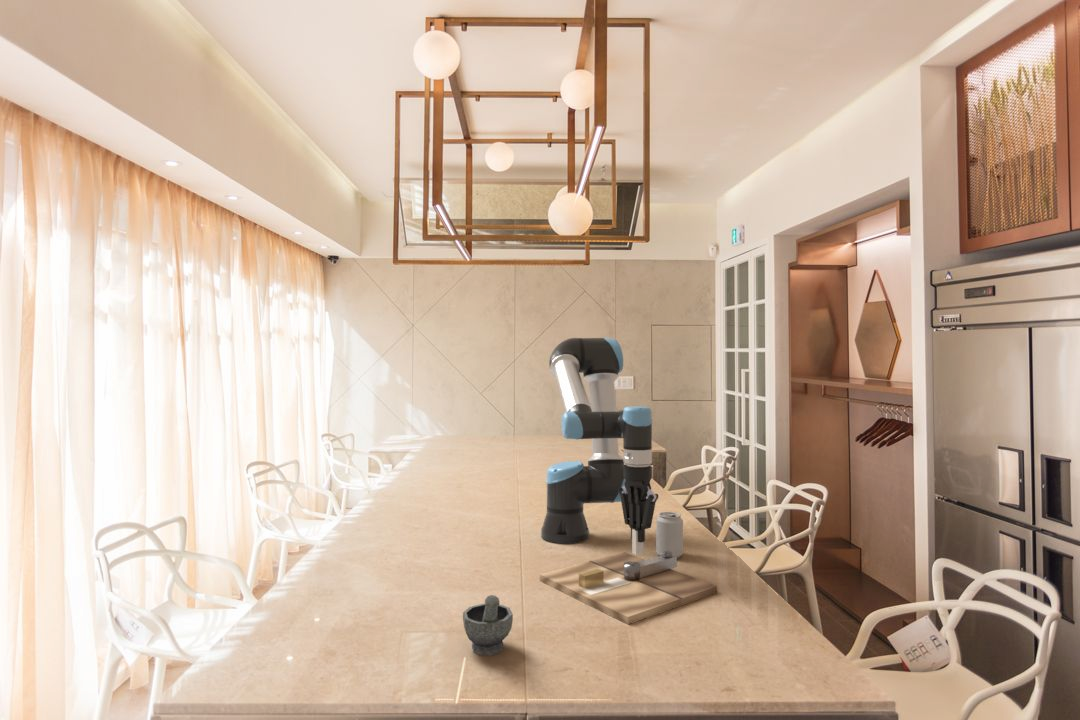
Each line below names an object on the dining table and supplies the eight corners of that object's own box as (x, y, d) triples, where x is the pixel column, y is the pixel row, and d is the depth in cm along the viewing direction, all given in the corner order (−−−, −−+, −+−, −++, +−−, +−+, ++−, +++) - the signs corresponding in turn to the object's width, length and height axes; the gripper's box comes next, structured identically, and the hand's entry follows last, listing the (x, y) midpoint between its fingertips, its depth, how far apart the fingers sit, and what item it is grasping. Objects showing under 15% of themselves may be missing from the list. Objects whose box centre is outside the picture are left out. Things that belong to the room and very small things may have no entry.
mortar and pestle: (460, 639, 125) (460, 580, 125) (506, 634, 128) (506, 576, 128) (468, 666, 114) (468, 602, 114) (517, 660, 117) (517, 597, 117)
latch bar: (631, 582, 152) (631, 566, 152) (620, 577, 156) (620, 561, 156) (678, 568, 163) (678, 553, 162) (666, 563, 166) (666, 549, 166)
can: (683, 560, 174) (683, 517, 174) (656, 558, 175) (656, 516, 175) (682, 552, 181) (682, 511, 181) (656, 550, 183) (656, 510, 182)
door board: (539, 580, 158) (539, 562, 158) (624, 557, 176) (624, 541, 176) (627, 624, 132) (627, 603, 132) (717, 592, 150) (717, 573, 150)
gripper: (610, 462, 168) (610, 550, 168) (645, 469, 157) (645, 562, 157) (630, 460, 172) (630, 545, 172) (665, 466, 162) (666, 556, 161)
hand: (637, 553), depth 164 cm, fingers closed
